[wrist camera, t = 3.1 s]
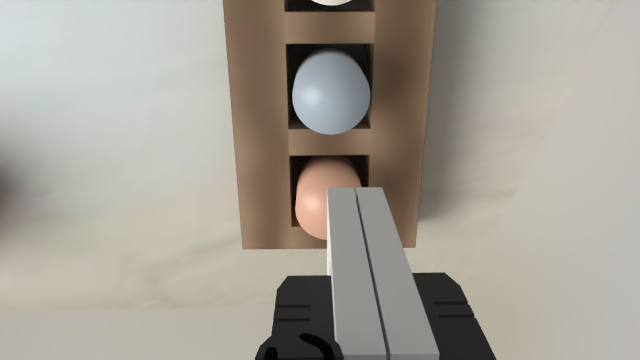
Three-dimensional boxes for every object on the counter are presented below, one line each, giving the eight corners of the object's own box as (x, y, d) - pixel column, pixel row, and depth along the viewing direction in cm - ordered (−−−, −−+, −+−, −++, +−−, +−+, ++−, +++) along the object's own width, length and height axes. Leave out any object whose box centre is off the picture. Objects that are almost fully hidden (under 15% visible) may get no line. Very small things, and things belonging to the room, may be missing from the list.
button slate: (295, 115, 35) (293, 134, 30) (294, 47, 33) (291, 57, 28) (361, 115, 35) (368, 134, 30) (363, 47, 33) (371, 56, 29)
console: (249, 225, 41) (242, 249, 37) (224, -117, 31) (212, -131, 27) (406, 224, 41) (415, 247, 37) (432, -118, 31) (448, -132, 27)
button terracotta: (298, 210, 38) (296, 240, 33) (296, 153, 36) (294, 176, 32) (358, 209, 38) (364, 239, 34) (360, 152, 36) (367, 176, 32)
